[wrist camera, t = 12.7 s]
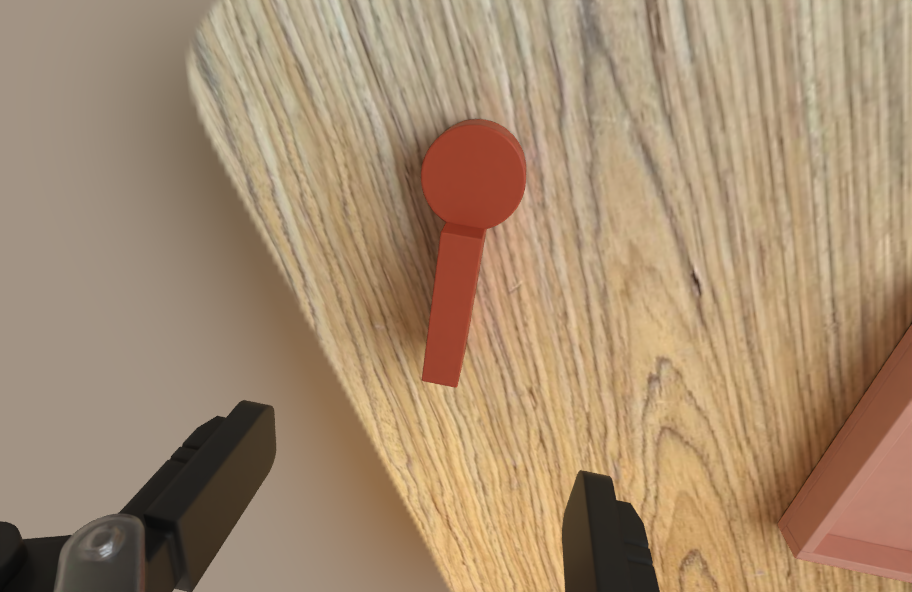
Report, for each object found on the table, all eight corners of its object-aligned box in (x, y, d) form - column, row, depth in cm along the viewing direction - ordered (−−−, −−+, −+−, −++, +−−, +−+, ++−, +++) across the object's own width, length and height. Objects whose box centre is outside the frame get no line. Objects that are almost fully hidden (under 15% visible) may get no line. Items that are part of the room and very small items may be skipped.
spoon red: (489, 355, 24) (483, 393, 21) (409, 340, 24) (394, 375, 21) (535, 127, 19) (536, 139, 16) (434, 111, 19) (419, 120, 16)
